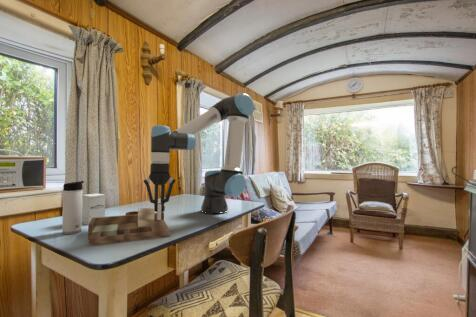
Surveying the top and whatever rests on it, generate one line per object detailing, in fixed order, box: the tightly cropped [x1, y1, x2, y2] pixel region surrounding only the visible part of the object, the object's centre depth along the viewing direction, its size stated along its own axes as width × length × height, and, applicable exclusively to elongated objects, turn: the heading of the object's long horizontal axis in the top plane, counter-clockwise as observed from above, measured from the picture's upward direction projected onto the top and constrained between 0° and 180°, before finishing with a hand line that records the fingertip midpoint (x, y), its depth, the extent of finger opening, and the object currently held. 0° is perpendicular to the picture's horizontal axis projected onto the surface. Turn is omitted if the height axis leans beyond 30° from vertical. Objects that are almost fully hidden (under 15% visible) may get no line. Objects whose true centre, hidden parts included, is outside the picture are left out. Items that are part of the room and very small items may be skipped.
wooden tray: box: [87, 211, 170, 247], centre depth 92 cm, size 27×17×6 cm, turn 115°
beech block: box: [137, 207, 156, 227], centre depth 97 cm, size 6×6×6 cm
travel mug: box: [61, 180, 85, 236], centre depth 93 cm, size 6×7×20 cm
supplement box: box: [82, 193, 106, 226], centre depth 107 cm, size 7×7×13 cm
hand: (158, 219), depth 99 cm, fingers closed
